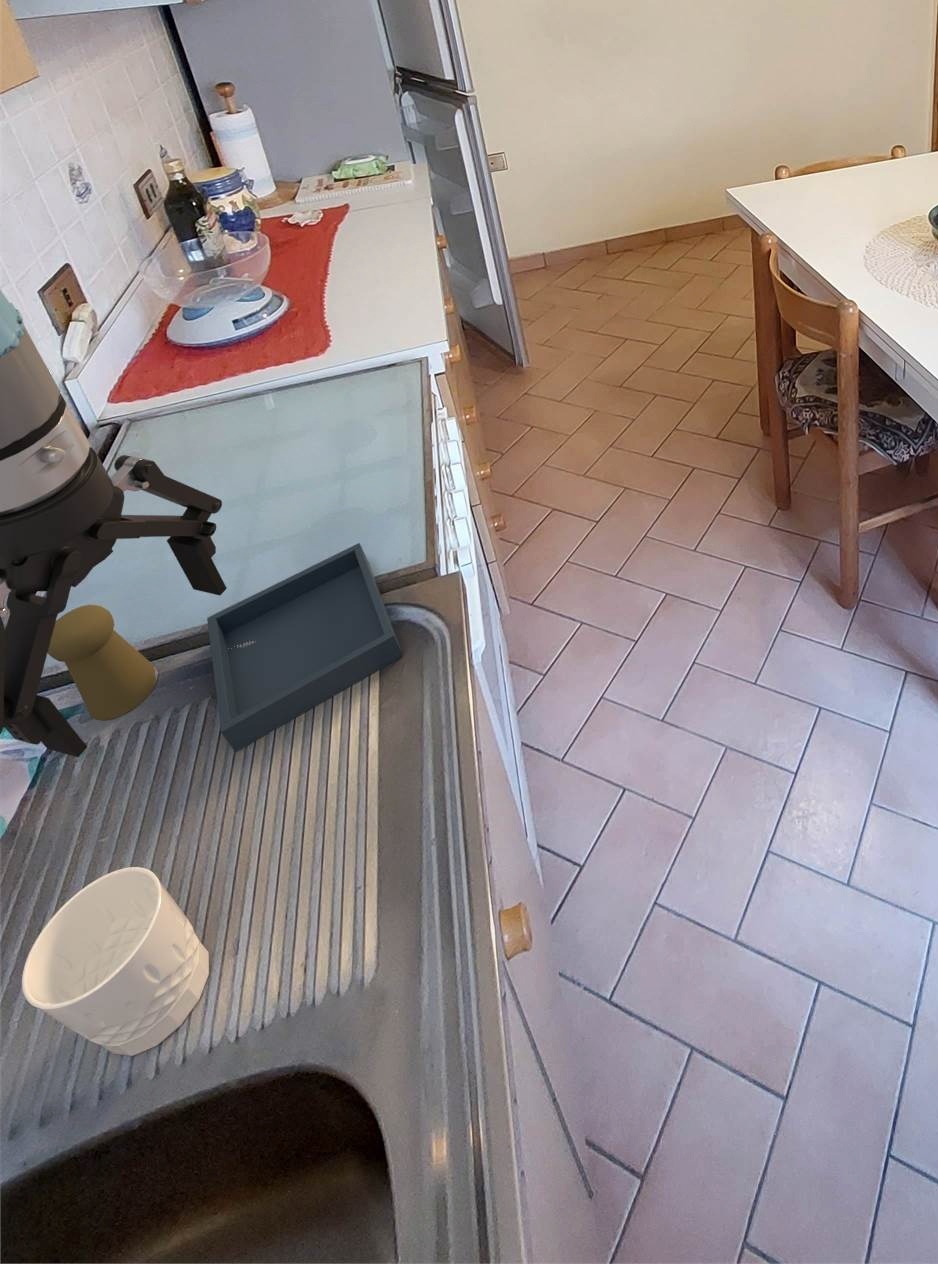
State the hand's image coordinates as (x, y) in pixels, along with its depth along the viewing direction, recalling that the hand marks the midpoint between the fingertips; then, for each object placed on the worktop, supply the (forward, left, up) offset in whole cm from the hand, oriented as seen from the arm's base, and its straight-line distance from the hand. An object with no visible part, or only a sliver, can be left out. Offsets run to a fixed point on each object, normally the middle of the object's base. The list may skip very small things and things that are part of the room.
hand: (145, 661), depth 64 cm
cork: (-18, -8, -18) cm, 26 cm away
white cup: (+14, -6, -18) cm, 23 cm away
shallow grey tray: (-11, +8, -17) cm, 22 cm away
